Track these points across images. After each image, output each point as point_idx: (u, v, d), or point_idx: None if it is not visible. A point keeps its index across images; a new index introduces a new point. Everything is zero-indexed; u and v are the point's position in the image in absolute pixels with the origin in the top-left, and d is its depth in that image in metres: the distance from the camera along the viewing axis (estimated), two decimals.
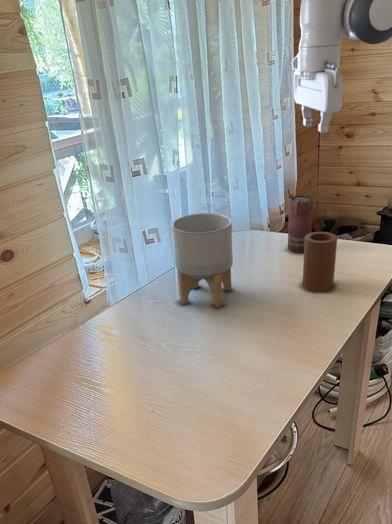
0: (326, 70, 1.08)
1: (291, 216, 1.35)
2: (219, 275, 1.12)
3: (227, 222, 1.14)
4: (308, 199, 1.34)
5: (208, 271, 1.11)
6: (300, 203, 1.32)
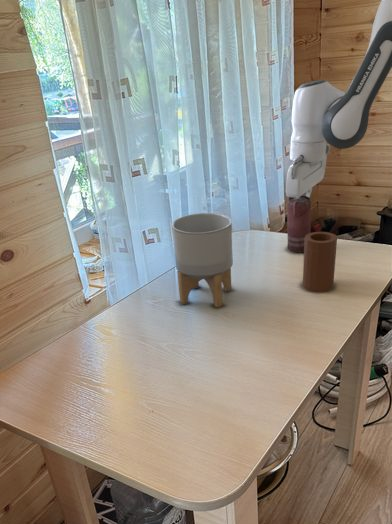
0: None
1: (289, 217, 1.35)
2: (219, 275, 1.12)
3: (227, 222, 1.14)
4: (306, 199, 1.34)
5: (208, 271, 1.11)
6: (298, 204, 1.32)
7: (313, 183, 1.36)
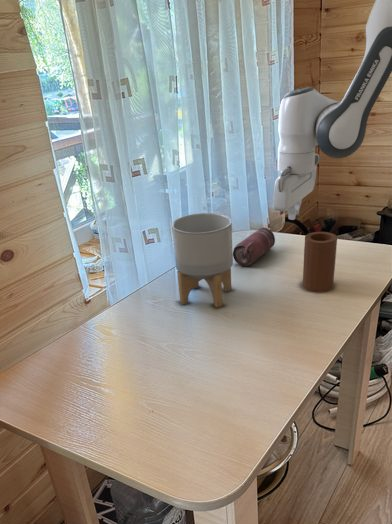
0: None
1: (257, 245, 1.33)
2: (219, 275, 1.12)
3: (227, 222, 1.14)
4: (236, 254, 1.34)
5: (208, 271, 1.11)
6: (244, 245, 1.31)
7: (302, 195, 1.30)
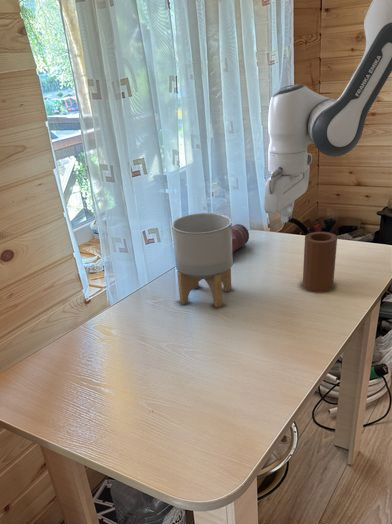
0: None
1: None
2: (219, 275, 1.12)
3: (227, 222, 1.14)
4: None
5: (208, 271, 1.11)
6: None
7: (295, 196, 1.24)
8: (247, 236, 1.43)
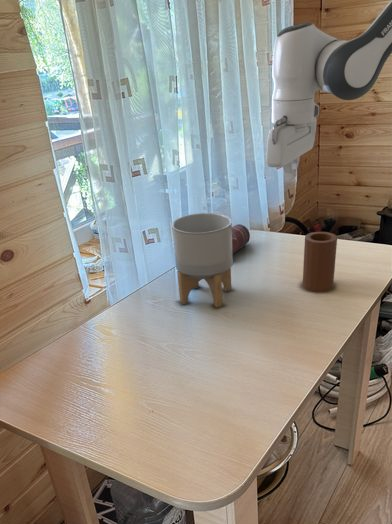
0: None
1: None
2: (219, 275, 1.12)
3: (227, 222, 1.14)
4: None
5: (208, 271, 1.11)
6: None
7: (300, 151, 1.15)
8: (248, 237, 1.43)
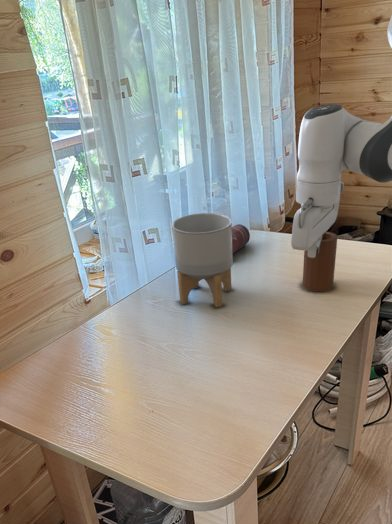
0: None
1: None
2: (219, 275, 1.12)
3: (227, 222, 1.14)
4: None
5: (208, 271, 1.11)
6: None
7: (324, 229, 1.10)
8: (248, 237, 1.43)
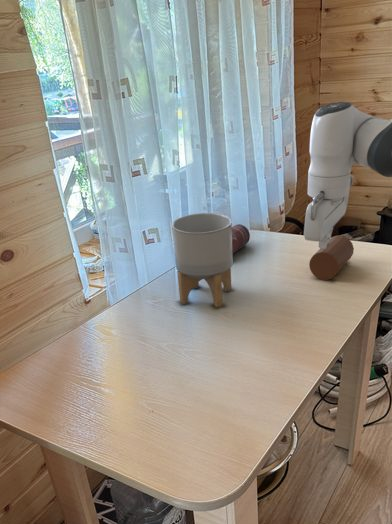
0: None
1: None
2: (219, 275, 1.12)
3: (227, 222, 1.14)
4: None
5: (208, 271, 1.11)
6: None
7: (335, 221, 1.16)
8: (248, 237, 1.43)
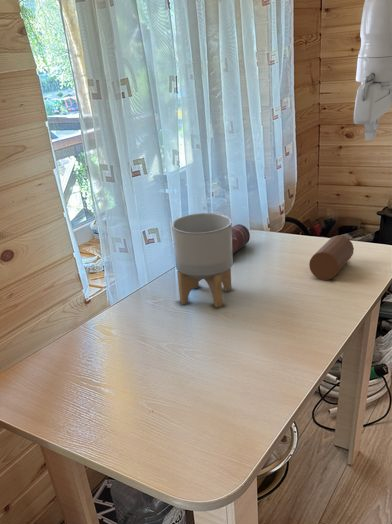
0: None
1: None
2: (219, 275, 1.12)
3: (227, 222, 1.14)
4: None
5: (208, 271, 1.11)
6: None
7: (382, 111, 1.16)
8: (248, 237, 1.43)
